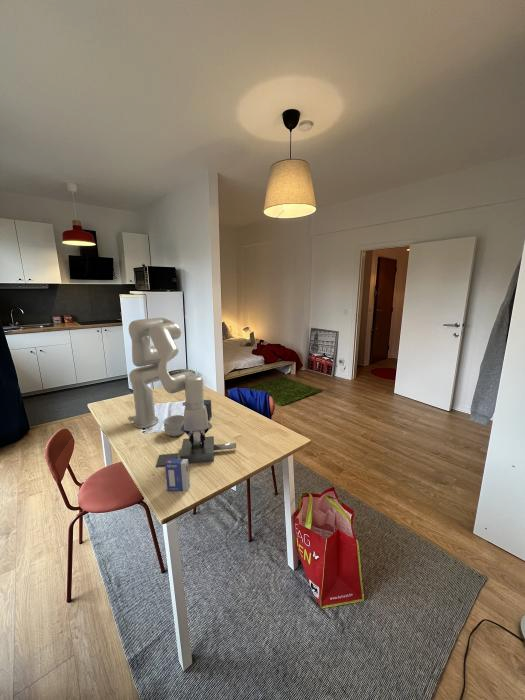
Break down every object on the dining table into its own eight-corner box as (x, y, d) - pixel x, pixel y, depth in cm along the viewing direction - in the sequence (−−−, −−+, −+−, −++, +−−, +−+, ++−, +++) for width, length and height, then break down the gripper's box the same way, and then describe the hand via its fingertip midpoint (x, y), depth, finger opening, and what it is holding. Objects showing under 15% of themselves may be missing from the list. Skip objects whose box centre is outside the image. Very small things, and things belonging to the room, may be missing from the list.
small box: (212, 416, 166) (211, 399, 163) (209, 421, 160) (208, 404, 157) (194, 415, 167) (193, 398, 164) (190, 420, 161) (189, 403, 158)
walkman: (167, 491, 106) (164, 462, 103) (169, 486, 109) (167, 457, 106) (188, 491, 106) (186, 462, 103) (190, 486, 109) (188, 458, 106)
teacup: (166, 440, 140) (165, 425, 138) (163, 431, 150) (161, 417, 148) (194, 434, 146) (193, 419, 145) (189, 425, 156) (188, 411, 154)
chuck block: (180, 464, 122) (179, 456, 121) (184, 446, 135) (183, 438, 134) (237, 458, 125) (237, 450, 125) (235, 441, 139) (234, 434, 138)
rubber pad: (155, 467, 120) (155, 465, 120) (159, 456, 128) (159, 454, 128) (175, 465, 121) (175, 463, 121) (178, 454, 129) (177, 453, 129)
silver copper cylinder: (193, 453, 127) (191, 428, 124) (193, 448, 131) (192, 424, 128) (202, 452, 128) (200, 428, 125) (202, 447, 131) (201, 423, 129)
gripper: (173, 409, 119) (177, 448, 123) (214, 406, 122) (216, 445, 126) (176, 402, 126) (179, 439, 131) (214, 399, 129) (216, 436, 133)
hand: (197, 442), depth 128 cm, fingers closed on silver copper cylinder, 4 cm apart
